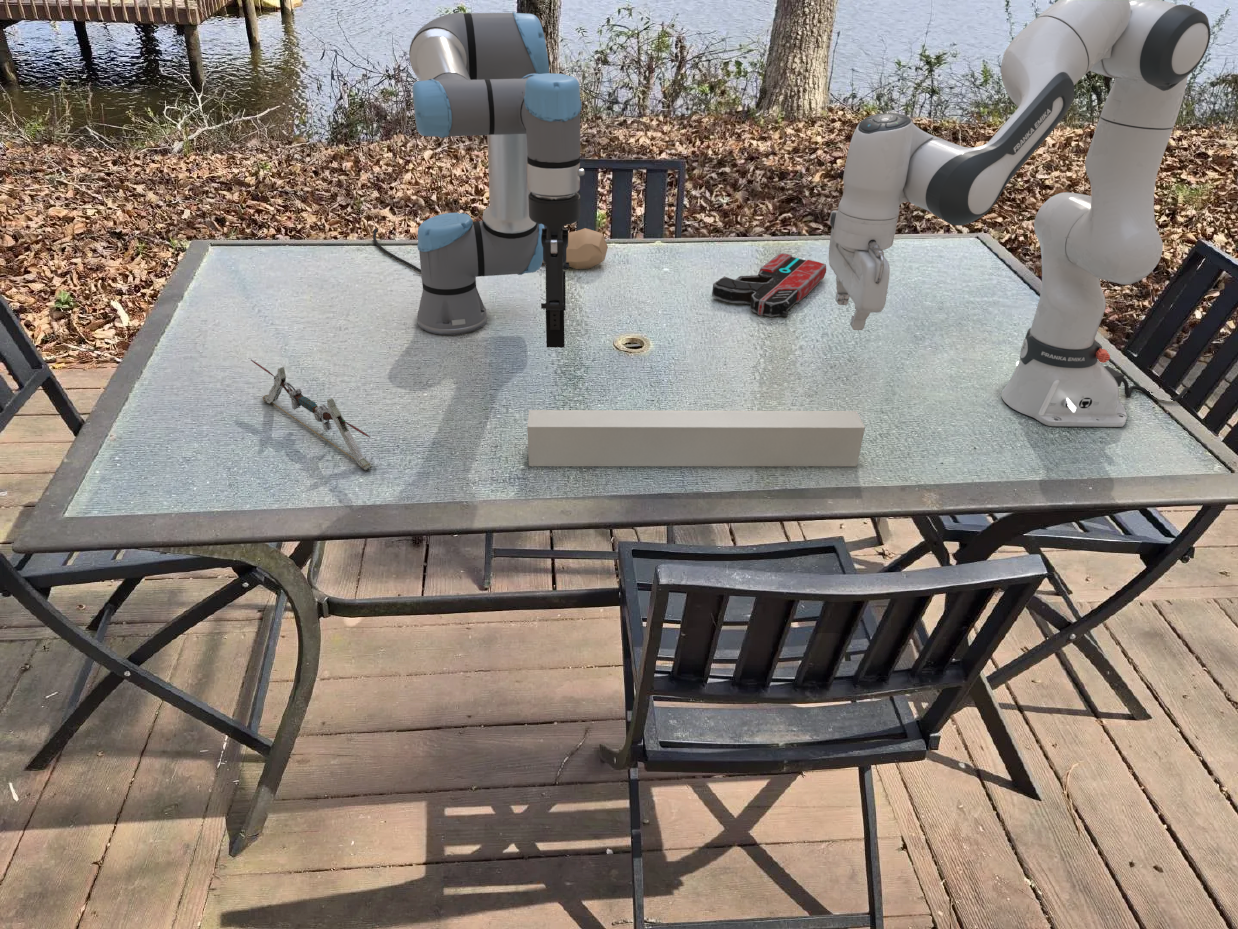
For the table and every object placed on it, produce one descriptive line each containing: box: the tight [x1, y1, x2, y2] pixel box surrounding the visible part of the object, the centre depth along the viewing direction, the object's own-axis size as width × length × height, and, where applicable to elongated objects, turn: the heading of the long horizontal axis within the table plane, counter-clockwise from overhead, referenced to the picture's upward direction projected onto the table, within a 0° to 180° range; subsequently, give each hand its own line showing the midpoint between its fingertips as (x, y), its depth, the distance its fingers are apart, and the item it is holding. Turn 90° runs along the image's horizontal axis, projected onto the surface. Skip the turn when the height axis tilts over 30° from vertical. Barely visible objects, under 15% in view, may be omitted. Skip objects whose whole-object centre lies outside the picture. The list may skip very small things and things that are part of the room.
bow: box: [250, 359, 373, 471], centre depth 154 cm, size 39×2×10 cm, turn 47°
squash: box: [542, 227, 609, 270], centre depth 226 cm, size 11×20×9 cm, turn 90°
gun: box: [711, 252, 827, 318], centre depth 215 cm, size 4×31×19 cm
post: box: [526, 409, 866, 467], centre depth 151 cm, size 57×6×8 cm, turn 92°
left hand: (556, 327), depth 138 cm, fingers open, 13 cm apart
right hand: (848, 315), depth 139 cm, fingers open, 8 cm apart
